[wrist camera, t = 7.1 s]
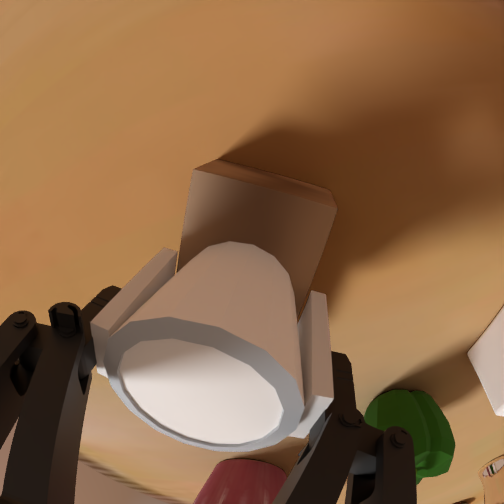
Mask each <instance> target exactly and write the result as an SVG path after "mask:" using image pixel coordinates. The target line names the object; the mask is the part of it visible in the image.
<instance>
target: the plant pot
mask: <svg viewBox="0 0 504 504" xmlns="http://www.w3.org/2000/svg"><path fill="white" fill-rule="evenodd" d="M286 479H287V476H286V473H285V472H284V471H283V470H282V469H280V468H279V467H277V466H275V465H272V464H269V463H266V462H262V461H256V460H248V459H231V460H225V461H222V462H220V463H218V464H217V465H216V467H215V468H214V470H213V472H212V474H211V475H210V477H209V478H208V480H207V481H206V483H205V485H204V486H203V488H202V489H201V491H200V493H199V494H198V496H197V498H196V499H195V501H194V503H193V504H272V502H273V501H274V499H275V498H276V496H277V494H278V493H279V491H280V489H281V488H282V486H283V484H284V483H285V481H286Z"/></svg>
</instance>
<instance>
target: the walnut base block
mask: <svg viewBox="0 0 504 504" xmlns="http://www.w3.org/2000/svg"><path fill="white" fill-rule="evenodd" d="M337 210H338V208H337V205H336V203H335V201H334V199H333V196H332V194H331V192H330V190H329V189H326V188H322V187H319V186H316V185H312V184H309V183H306V182H302V181H299V180H295V179H292V178H288V177H285V176H281V175H278V174H274V173H270V172H267V171H263V170H259V169H255V168H251V167H247V166H243V165H239V164H235V163H231V162H227V161H223V160H219V159H216V160H214V161H211V162H209V163H206V164H204V165H202V166H200V167H197V168H195V169H193V173H192V178H191V184H190V189H189V195H188V201H187V207H186V213H185V219H184V225H183V231H182V238H181V245H180V252H179V259H178V267H177V272H179V271H180V270H181V269H182V268H183V267H184V266H185V265H186V264H187V263H188V262H189V261H190V260H192V259H193V258H194V257H195V256H196V255H198V254H199V253H200V252H202V251H203V250H204V249H205V248H207V247H208V246H212V245H216V244H220V243H224V242H228V241H232V242H239V243H245V244H252V245H255V246H257V247H258V248H260V249H262V250H264V251H266V252H267V253H269V254H271V255H273V256H275V258H276V259H277V260H278V261H279V263H280V264H281V265H282V266H283V267H284V269H285V270H286V271H287V272H288V274H289V277H290V280H291V284H292V287H293V291H294V296H295V306H296V315H297V318H298V316H299V313H300V311H301V308H302V306H303V303H304V301H305V298H306V296H307V293H308V290H309V288H310V285H311V283H312V280H313V277H314V275H315V272H316V269H317V267H318V264H319V261H320V258H321V256H322V253H323V250H324V247H325V245H326V242H327V239H328V236H329V233H330V230H331V228H332V225H333V222H334V219H335V216H336V213H337Z"/></svg>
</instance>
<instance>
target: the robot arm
mask: <svg viewBox="0 0 504 504" xmlns="http://www.w3.org/2000/svg"><path fill="white" fill-rule="evenodd" d="M177 252H178V251H174V250H171V249H168V248H163V249H162V250H161V251H160V252H159V253H158V254H157V255H156V256H155V257H153V258H152V259H151V260H150V261H149V262H148V263H147V264H146V265H145V266H144V267H143V268H142V269H141V270H140V271H139V272H138V273H137V274H136V275H135V276H134V277H133V278H132V279H131V280H130V281H129V282H128V283H127V284H126V285H125V286H124V287H123V288H122V289H121V288H118V287H116V286H113V285H112V286H110V287H108V288H105V289H103V290H102V291H101V292H100V293H99V294H98V295H97V296H96V297H95V298H94V299H92V300H91V302H89V303H88V304H87V305H86V306H85V307H84V308H83V309H82V310H80V308H79V307H78V306H77V305H76V304H73V303H70V302H61V303H57V304H55V305H53V306H52V307H51V308H50V309H49V310H48V312H49V317H50V322H51V326H48V325H44V324H39V323H37V322H36V318H35V316H34V315H33V314H32V313H31V312H28V311H17V312H14V313H13V314H11V315H10V316H9V317H8V318H7V319H6V320H5V321H4V322H3V323H2V324H1V326H0V449H1V447H2V445H3V444H4V442H5V440H6V438H7V436H8V435H9V433H10V431H11V429H12V428H13V426H14V424H15V422H16V421H17V419H18V417H19V419H18V422H17V426H16V429H15V433H14V437H13V441H12V445H11V450H10V454H9V458H8V463H7V468H6V473H5V479H4V485H3V491H2V495H1V496H0V504H74V497H75V485H76V474H77V464H78V455H79V448H80V440H81V434H82V427H83V421H84V415H85V410H86V404H87V399H88V394H89V389H90V384H91V380H92V373H91V370H92V369H93V368H94V366H95V365H96V366H97V372H98V373H99V374H101V375H103V376H105V377H107V378H108V375H107V372H106V369H105V366H104V363H103V360H104V355H105V351H106V347H107V342H108V338H109V337H110V336H111V335H112V334H113V333H114V332H115V331H117V330H118V329H119V328H120V327H121V326H122V325H123V324H124V323H125V322H126V321H127V320H128V319H129V318H130V317H131V316H132V315H133V314H134V313H135V312H136V311H137V310H138V309H139V308H140V307H141V306H142V305H143V304H144V303H146V302H147V301H148V300H149V299H150V298H151V297H152V296H153V295H154V294H155V293H156V292H157V291H158V290H159V289H160V288H161V287H162V286H164V285H165V284H166V283H167V282H168V281H169V280H170V279H171V278H172V277H173V276H174V275H175V267H176V260H177ZM298 335H299V346H300V357H301V368H302V380H303V392H304V406H305V408H304V411H303V413H302V416H301V418H300V421H299V424H298V426H297V429H296V430H295V431H294V432H292V433H291V434H290V435H288V436H291V437H296V438H302V439H304V438H305V437H306V436H307V435H308V433H309V442H308V444H307V445H306V446H305V447H304V448H303V449H302V451H301V452H300V453H299V454H298V456H300V457H299V458H298V460H297V462H296V464H295V466H294V467H293V469H292V471H291V473H290V474H289V476H288V478H287V479H286V481H285V483H284V484H283V486H282V488H281V489H280V491H279V493H278V494H277V496H276V498H275V499H274V501H273V502H272V504H336V503H337V500H338V498H339V496H340V493H341V491H342V489H343V486H344V484H345V481H346V479H347V476H348V481H347V490H346V498H345V504H417V492H416V469H415V455H414V443H413V439H412V436H411V435H410V433H409V432H408V431H407V430H405V429H404V428H402V427H399V426H391V427H389V428H387V429H386V430H385V431H382V430H380V429H377V428H375V427H373V426H370V425H369V424H367V423H366V422H365V420H364V417H363V415H362V414H361V413H360V412H359V411H358V410H357V409H356V400H355V391H354V383H353V375H352V367H351V363H350V361H349V359H348V358H347V356H346V354H342V353H338V352H333V351H331V344H330V332H329V321H328V310H327V300H326V294H324V293H320V292H316V291H313V290H311V292H310V295H309V297H308V300H307V302H306V305H305V307H304V310H303V312H302V315H301V317H300V320H299V322H298Z"/></svg>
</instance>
